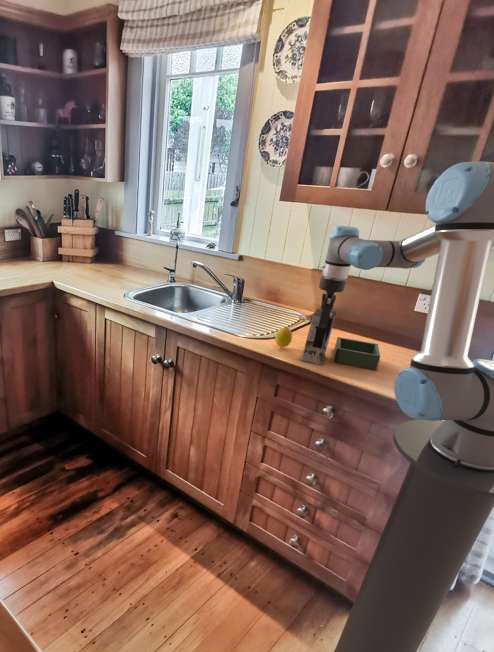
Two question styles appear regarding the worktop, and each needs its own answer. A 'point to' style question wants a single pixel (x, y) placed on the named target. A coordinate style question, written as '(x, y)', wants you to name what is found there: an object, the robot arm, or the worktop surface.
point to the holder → (356, 353)
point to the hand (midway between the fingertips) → (317, 341)
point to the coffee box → (309, 351)
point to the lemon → (283, 337)
